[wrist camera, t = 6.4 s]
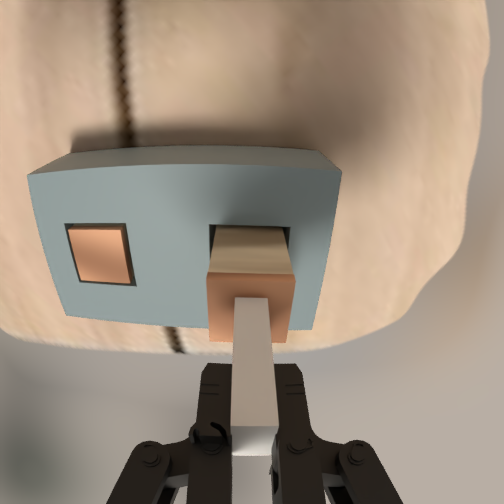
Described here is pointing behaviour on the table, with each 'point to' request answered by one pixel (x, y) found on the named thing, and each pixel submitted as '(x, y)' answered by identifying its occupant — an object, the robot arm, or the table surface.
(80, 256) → the peg
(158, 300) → the socket block
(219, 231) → the peg
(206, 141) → the table surface
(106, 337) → the table surface
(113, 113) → the table surface
